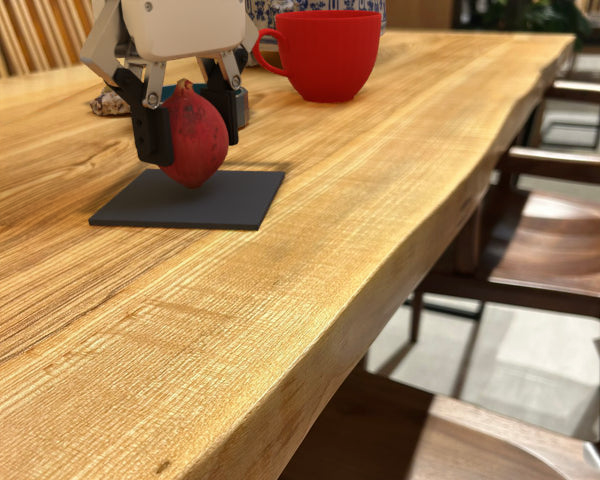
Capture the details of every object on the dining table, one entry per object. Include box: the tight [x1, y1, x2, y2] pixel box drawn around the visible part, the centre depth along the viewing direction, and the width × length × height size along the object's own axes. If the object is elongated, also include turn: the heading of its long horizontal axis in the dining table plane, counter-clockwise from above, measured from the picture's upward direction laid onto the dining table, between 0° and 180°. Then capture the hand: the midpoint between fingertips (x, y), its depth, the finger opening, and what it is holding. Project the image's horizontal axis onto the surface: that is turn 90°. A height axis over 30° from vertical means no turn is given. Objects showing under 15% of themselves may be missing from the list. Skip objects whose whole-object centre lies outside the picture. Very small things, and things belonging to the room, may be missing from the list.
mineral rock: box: [89, 84, 131, 117], centre depth 78 cm, size 11×4×8 cm
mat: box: [87, 168, 286, 232], centre depth 49 cm, size 12×12×1 cm
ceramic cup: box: [252, 10, 382, 105], centre depth 79 cm, size 13×17×10 cm
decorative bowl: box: [245, 0, 387, 68], centre depth 112 cm, size 42×27×15 cm, turn 169°
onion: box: [156, 77, 230, 189], centre depth 47 cm, size 6×6×8 cm
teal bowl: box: [159, 82, 250, 129], centre depth 70 cm, size 12×12×4 cm
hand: (190, 150), depth 47 cm, fingers closed on onion, 5 cm apart
